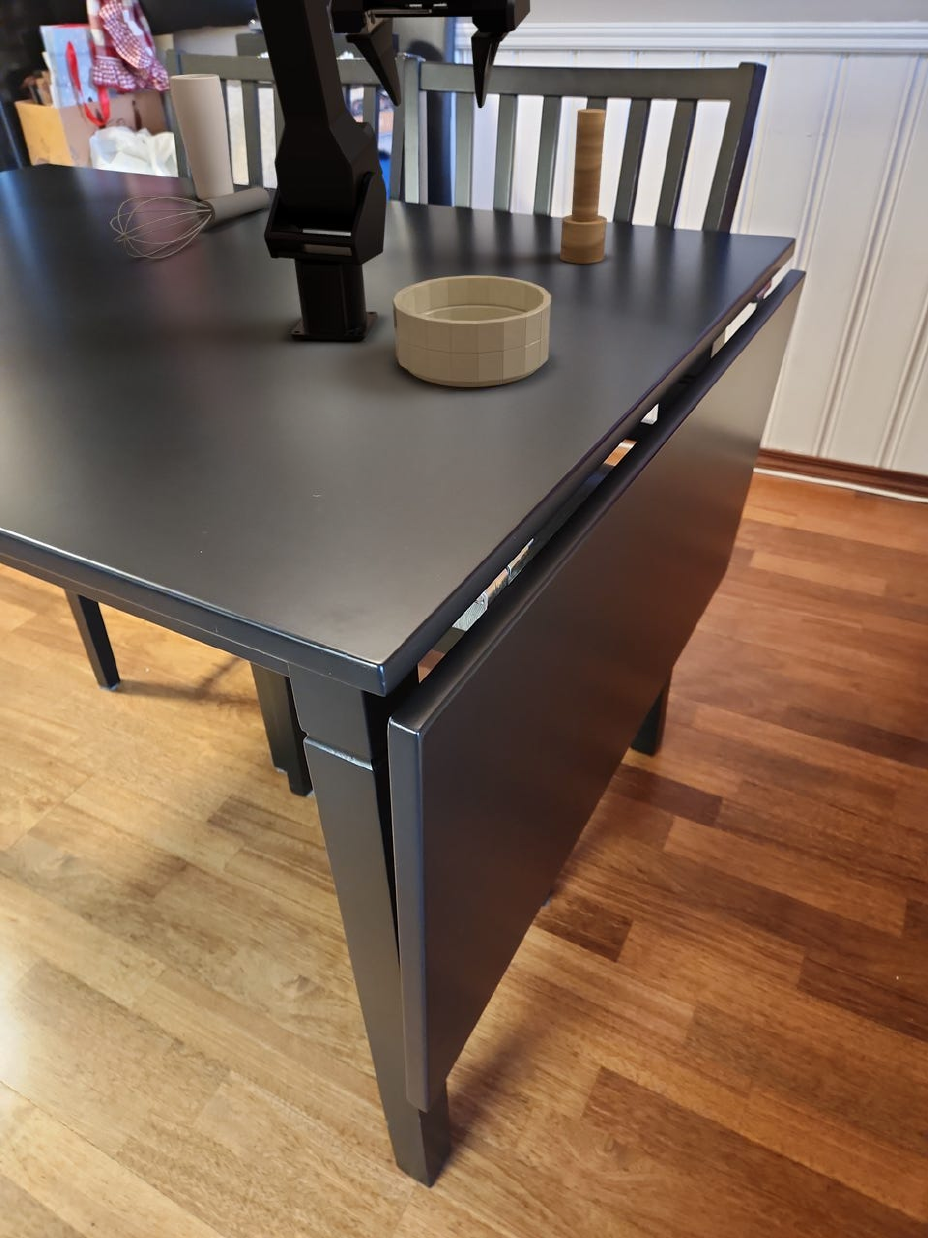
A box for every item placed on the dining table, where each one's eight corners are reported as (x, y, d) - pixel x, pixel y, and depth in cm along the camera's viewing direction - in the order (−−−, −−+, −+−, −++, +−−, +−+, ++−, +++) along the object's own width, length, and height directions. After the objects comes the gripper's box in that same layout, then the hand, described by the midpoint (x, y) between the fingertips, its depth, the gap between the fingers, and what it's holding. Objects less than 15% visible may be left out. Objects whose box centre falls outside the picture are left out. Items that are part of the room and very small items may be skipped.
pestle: (604, 263, 89) (616, 112, 81) (559, 263, 90) (567, 113, 81) (603, 252, 93) (615, 107, 84) (560, 252, 93) (567, 107, 85)
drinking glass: (183, 201, 119) (158, 78, 110) (207, 192, 124) (185, 73, 115) (224, 204, 117) (202, 78, 108) (248, 194, 122) (228, 73, 113)
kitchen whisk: (290, 204, 116) (283, 154, 112) (155, 271, 90) (140, 208, 87) (251, 203, 117) (242, 153, 113) (108, 268, 92) (90, 206, 88)
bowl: (545, 392, 62) (548, 324, 58) (385, 388, 63) (379, 321, 60) (549, 336, 71) (552, 276, 68) (410, 334, 72) (407, 274, 69)
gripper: (543, -119, 75) (547, 76, 87) (357, -109, 80) (386, 74, 92) (507, -85, 68) (517, 120, 81) (308, -76, 74) (345, 115, 86)
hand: (439, 105), depth 85 cm, fingers open, 9 cm apart
